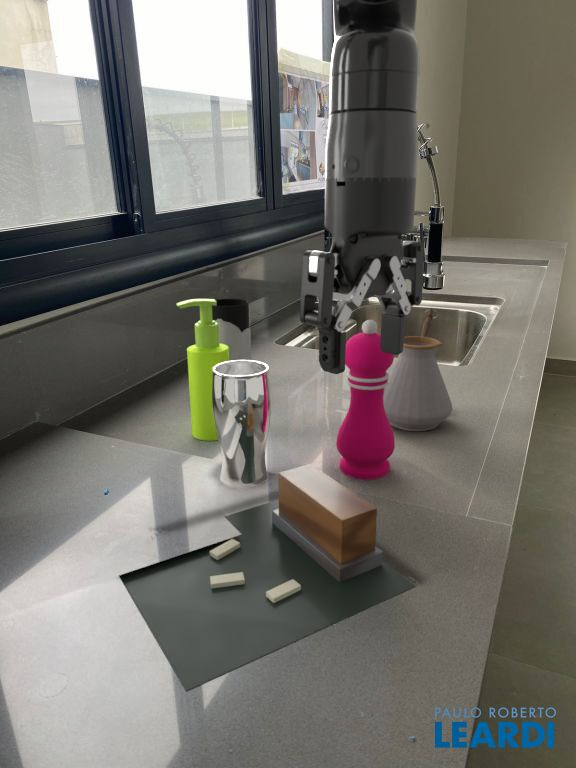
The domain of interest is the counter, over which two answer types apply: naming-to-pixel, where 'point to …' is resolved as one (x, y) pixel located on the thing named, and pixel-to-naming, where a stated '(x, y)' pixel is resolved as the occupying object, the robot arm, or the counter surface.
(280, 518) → the eraser
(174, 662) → the chalkboard
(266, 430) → the beer glass
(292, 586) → the off-white small bar
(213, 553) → the cream rectangular block
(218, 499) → the counter surface
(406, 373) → the coffee pot
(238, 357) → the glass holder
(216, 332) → the soap dispenser
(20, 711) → the counter surface
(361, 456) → the pepper mill
